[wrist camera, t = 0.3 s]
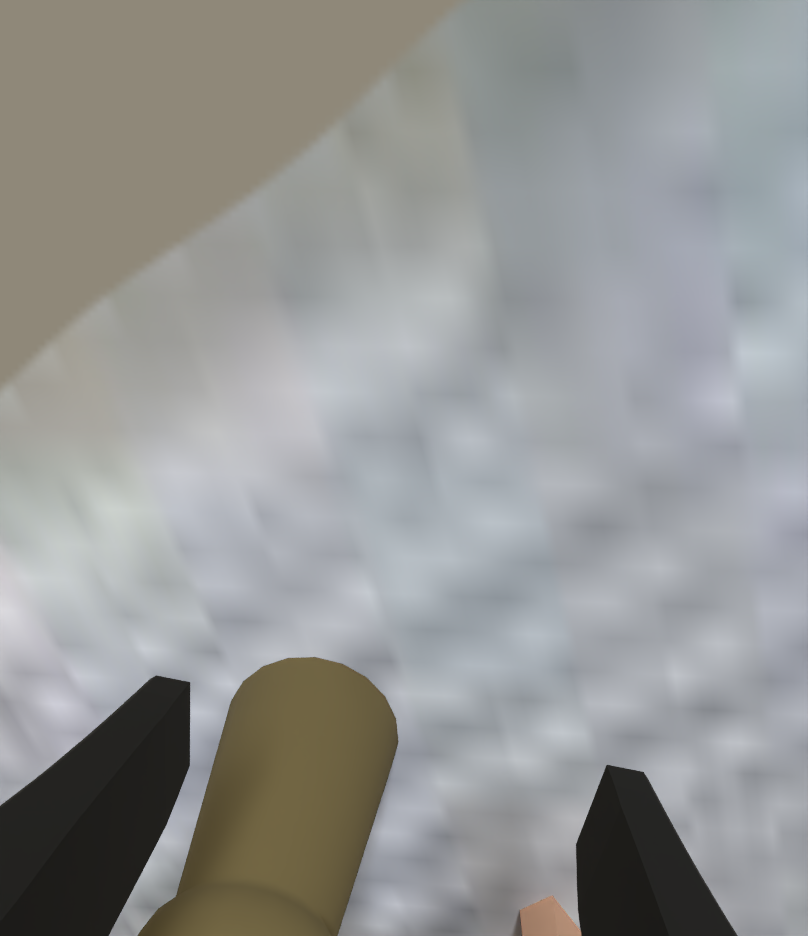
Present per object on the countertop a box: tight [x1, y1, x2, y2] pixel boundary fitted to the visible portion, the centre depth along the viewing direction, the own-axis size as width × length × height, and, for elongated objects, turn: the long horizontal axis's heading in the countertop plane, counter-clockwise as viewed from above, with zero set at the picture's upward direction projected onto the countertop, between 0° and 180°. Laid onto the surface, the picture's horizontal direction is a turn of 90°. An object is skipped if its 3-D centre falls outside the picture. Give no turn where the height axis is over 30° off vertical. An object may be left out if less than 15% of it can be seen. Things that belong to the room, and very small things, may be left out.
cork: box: [138, 657, 398, 936], centre depth 19 cm, size 6×6×11 cm
